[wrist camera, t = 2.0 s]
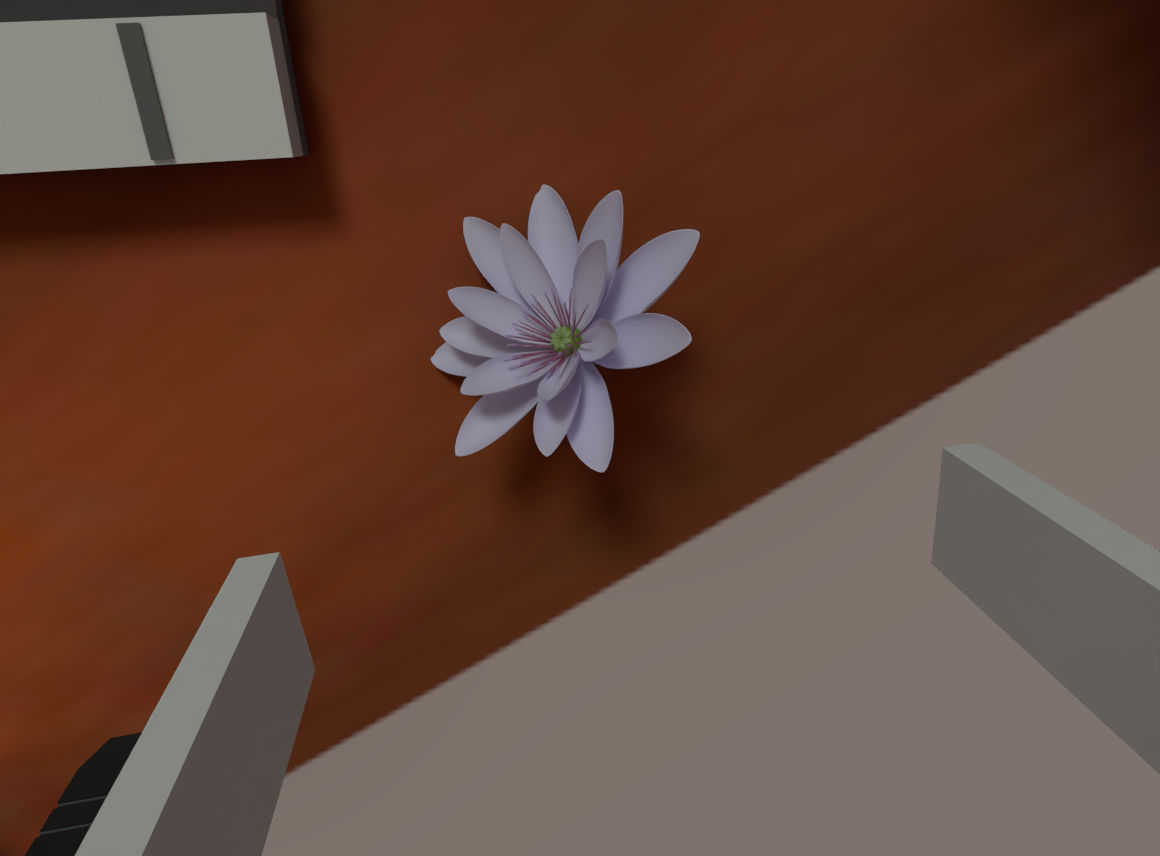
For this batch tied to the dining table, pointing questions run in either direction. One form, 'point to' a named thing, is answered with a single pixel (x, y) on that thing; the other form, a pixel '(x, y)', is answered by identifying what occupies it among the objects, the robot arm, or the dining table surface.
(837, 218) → the dining table surface
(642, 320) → the water lily
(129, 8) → the fader console
